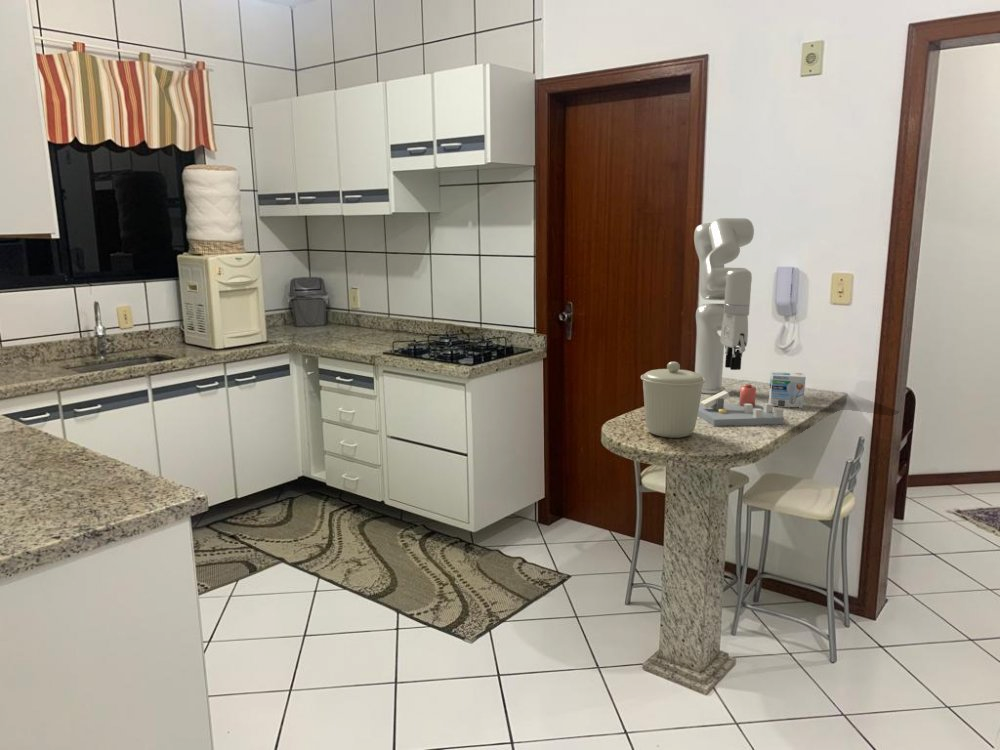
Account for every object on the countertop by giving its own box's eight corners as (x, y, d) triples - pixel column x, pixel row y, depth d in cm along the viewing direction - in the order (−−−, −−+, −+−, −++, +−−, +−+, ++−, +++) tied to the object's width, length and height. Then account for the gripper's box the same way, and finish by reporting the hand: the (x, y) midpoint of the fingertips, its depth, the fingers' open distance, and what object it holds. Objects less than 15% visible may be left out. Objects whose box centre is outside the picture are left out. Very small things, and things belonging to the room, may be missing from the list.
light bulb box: (769, 406, 255) (772, 374, 253) (767, 402, 262) (770, 371, 260) (803, 408, 253) (806, 376, 251) (801, 404, 259) (803, 372, 257)
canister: (709, 430, 225) (714, 360, 221) (691, 445, 209) (695, 369, 205) (650, 422, 234) (653, 354, 230) (629, 436, 218) (631, 363, 214)
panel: (690, 411, 248) (691, 392, 247) (754, 409, 251) (756, 391, 250) (713, 426, 230) (715, 406, 229) (783, 424, 233) (784, 404, 232)
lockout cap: (736, 403, 250) (738, 383, 249) (750, 403, 250) (752, 383, 249) (743, 407, 245) (744, 386, 244) (757, 406, 246) (758, 386, 245)
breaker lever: (701, 406, 244) (700, 401, 243) (729, 392, 244) (728, 388, 243) (706, 408, 240) (704, 404, 240) (734, 395, 240) (732, 390, 240)
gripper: (714, 307, 244) (710, 364, 248) (736, 313, 228) (732, 373, 232) (736, 307, 245) (733, 363, 249) (760, 313, 229) (756, 373, 233)
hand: (732, 367), depth 240 cm, fingers open, 3 cm apart
